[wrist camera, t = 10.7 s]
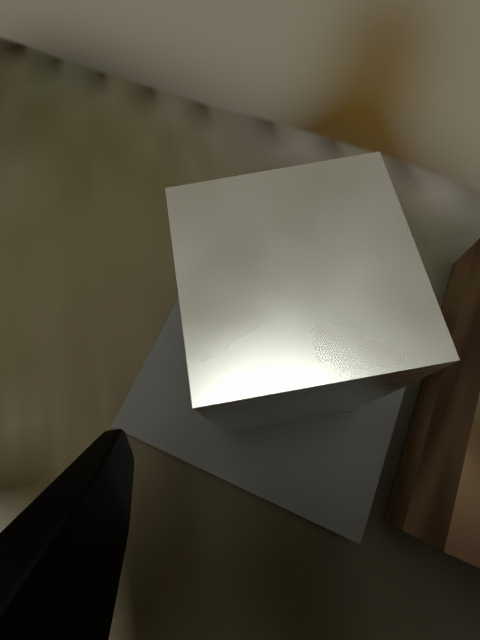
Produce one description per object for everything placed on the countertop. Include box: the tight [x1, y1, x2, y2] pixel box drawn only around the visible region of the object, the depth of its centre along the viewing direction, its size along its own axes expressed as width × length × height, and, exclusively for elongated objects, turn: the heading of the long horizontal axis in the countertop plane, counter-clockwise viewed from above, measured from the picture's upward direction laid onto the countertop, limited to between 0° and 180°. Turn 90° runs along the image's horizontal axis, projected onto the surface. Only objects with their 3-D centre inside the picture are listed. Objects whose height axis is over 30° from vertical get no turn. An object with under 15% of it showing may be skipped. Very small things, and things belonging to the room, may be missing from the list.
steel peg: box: [165, 152, 460, 433], centre depth 11 cm, size 5×5×8 cm
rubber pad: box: [112, 297, 406, 545], centre depth 16 cm, size 10×10×2 cm
